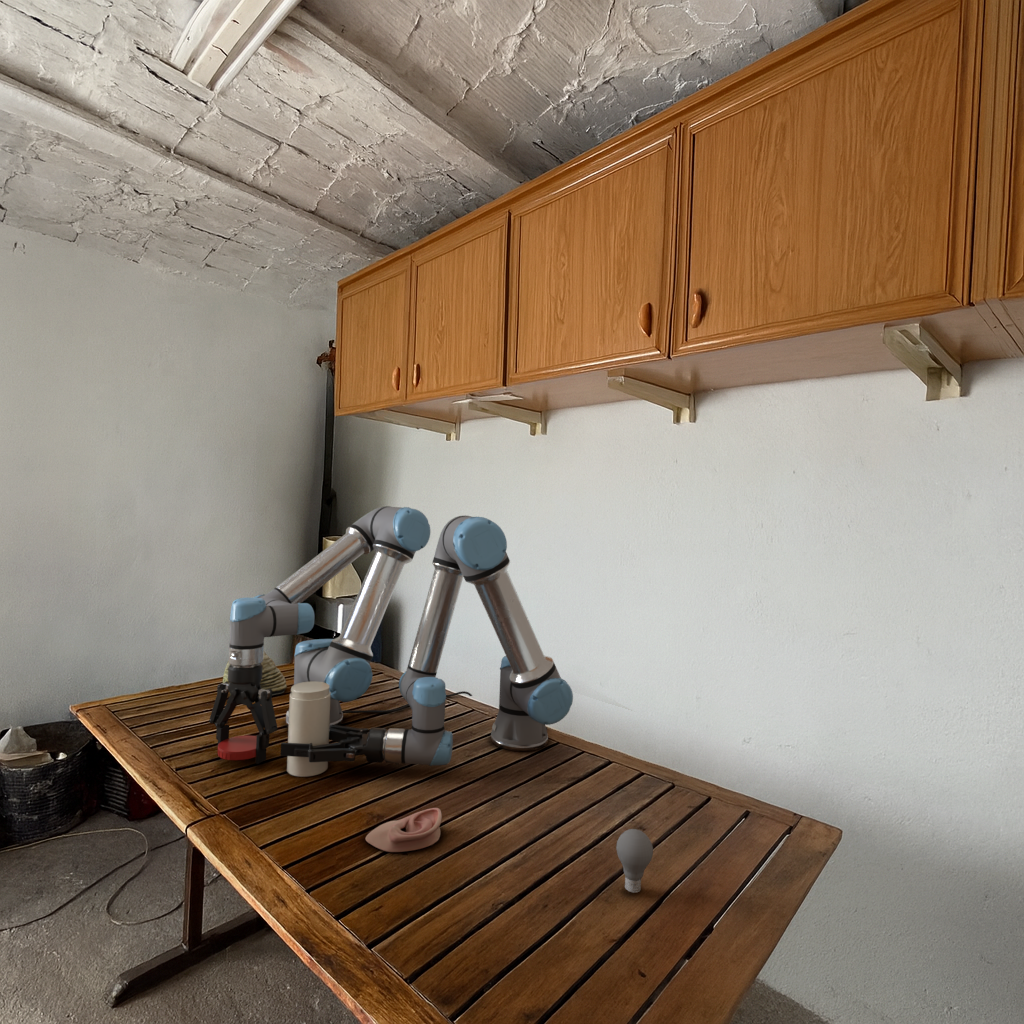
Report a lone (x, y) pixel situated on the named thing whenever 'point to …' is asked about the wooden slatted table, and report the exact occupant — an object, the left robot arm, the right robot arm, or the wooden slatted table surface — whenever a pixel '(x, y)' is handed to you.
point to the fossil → (267, 676)
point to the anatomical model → (408, 832)
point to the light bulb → (634, 857)
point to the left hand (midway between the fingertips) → (241, 757)
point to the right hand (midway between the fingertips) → (289, 740)
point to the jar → (308, 724)
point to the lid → (238, 748)
